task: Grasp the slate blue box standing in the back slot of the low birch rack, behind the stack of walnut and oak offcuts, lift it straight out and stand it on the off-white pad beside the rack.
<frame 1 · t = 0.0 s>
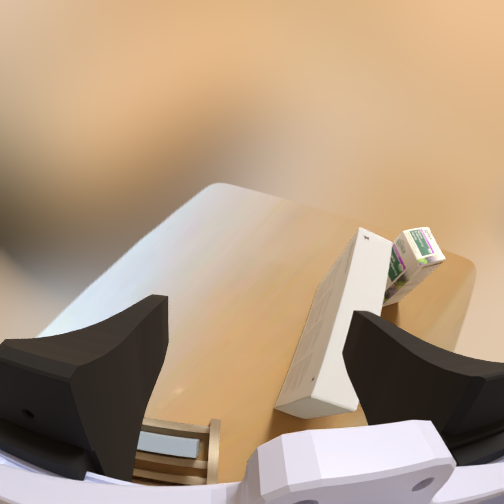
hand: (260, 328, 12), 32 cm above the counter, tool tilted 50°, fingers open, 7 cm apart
slate blue box: (165, 441, 35), on the counter
skincare box: (315, 348, 45), on the counter
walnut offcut: (162, 495, 31), on the counter, touching oak offcut
rack: (163, 469, 33), on the counter
syrup box: (380, 291, 51), on the counter
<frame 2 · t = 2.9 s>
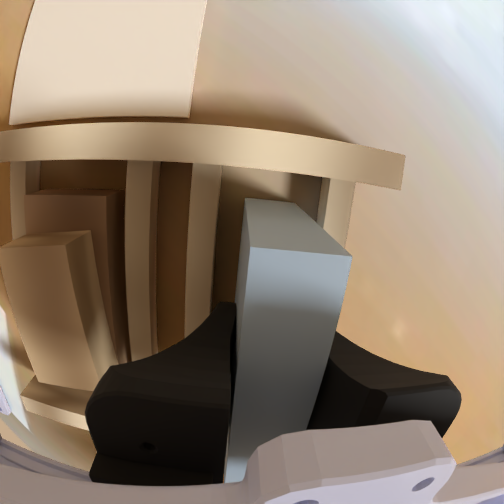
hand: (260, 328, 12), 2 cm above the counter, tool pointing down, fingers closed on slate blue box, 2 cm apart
slate blue box: (257, 302, 14), on the counter, touching gripper
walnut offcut: (92, 282, 14), on the counter, touching oak offcut
rack: (167, 294, 14), on the counter
pad: (104, 24, 10), on the counter
oak offcut: (69, 302, 12), point 2 cm above the counter, touching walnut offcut
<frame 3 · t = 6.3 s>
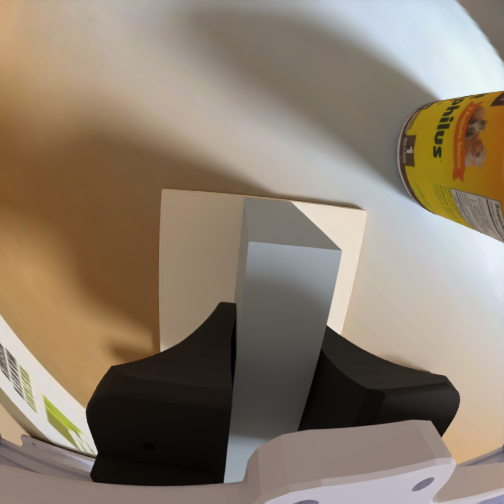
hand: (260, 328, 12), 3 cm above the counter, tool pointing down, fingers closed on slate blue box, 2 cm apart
slate blue box: (256, 298, 15), resting on pad, touching gripper
supplement bottle: (435, 157, 13), on the counter
pad: (255, 293, 15), on the counter
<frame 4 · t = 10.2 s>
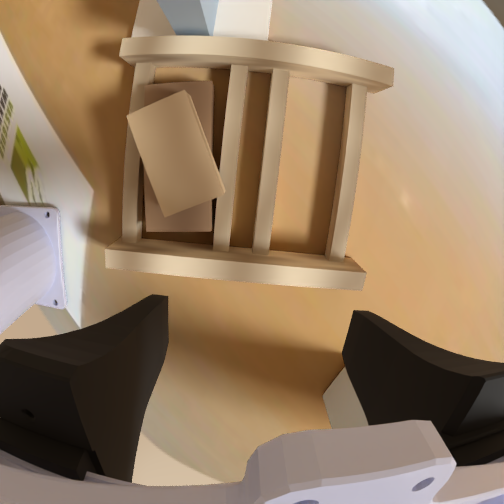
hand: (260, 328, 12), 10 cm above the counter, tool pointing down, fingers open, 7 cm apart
skincare box: (412, 397, 27), on the counter
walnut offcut: (183, 156, 20), on the counter, touching oak offcut
rack: (245, 158, 19), on the counter
oak offcut: (180, 153, 17), point 2 cm above the counter, touching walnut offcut
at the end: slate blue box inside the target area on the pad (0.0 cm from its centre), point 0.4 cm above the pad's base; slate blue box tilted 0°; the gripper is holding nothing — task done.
